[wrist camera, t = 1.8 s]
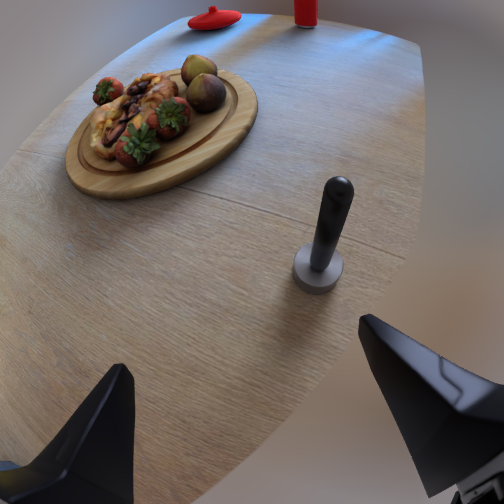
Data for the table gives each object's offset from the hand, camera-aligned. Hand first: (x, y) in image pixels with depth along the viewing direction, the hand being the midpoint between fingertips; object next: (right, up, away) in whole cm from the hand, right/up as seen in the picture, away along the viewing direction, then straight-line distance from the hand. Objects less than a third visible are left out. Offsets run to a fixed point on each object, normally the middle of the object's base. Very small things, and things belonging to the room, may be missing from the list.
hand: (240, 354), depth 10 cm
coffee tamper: (+6, +2, +17) cm, 18 cm away
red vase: (-10, +69, +53) cm, 88 cm away
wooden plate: (-15, +24, +30) cm, 41 cm away
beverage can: (+15, +66, +49) cm, 83 cm away
